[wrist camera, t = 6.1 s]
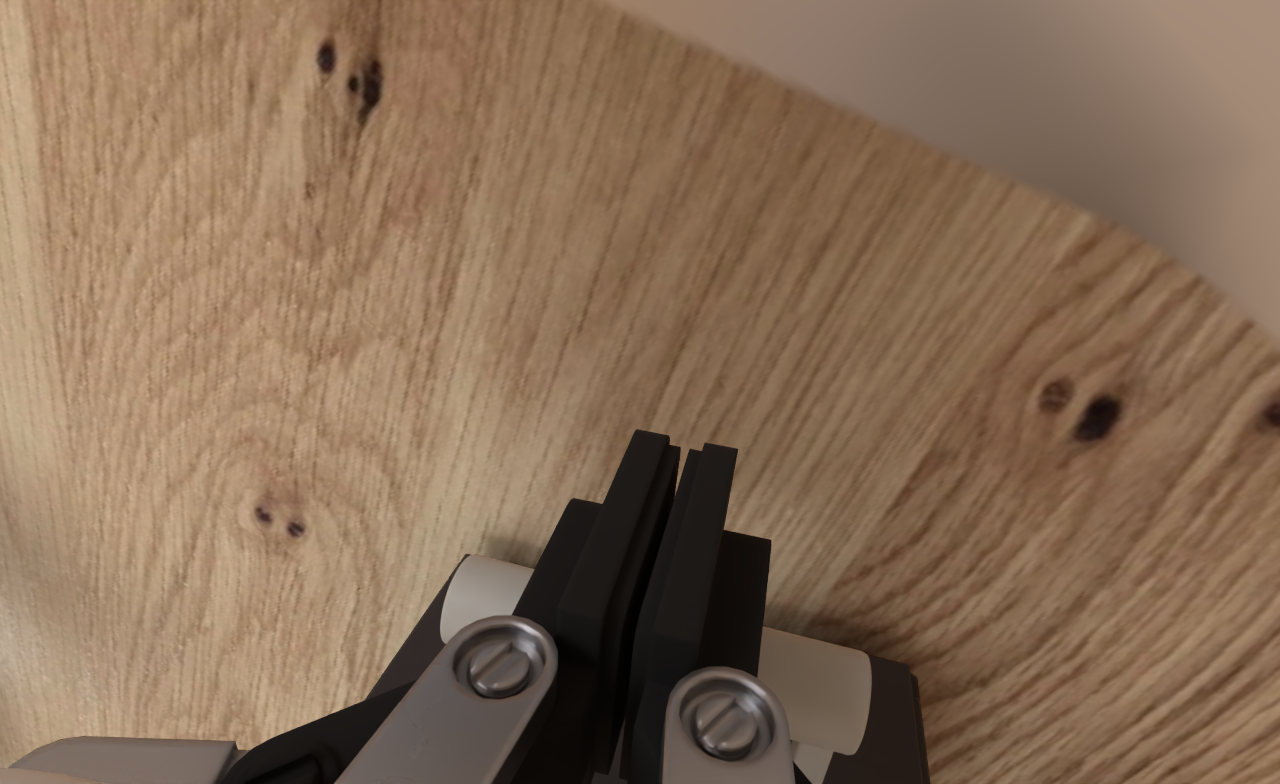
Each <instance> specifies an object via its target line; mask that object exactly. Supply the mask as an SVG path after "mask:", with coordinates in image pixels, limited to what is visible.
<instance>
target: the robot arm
mask: <svg viewBox="0 0 1280 784" xmlns="http://www.w3.org/2000/svg"><path fill="white" fill-rule="evenodd" d="M669 443H670V437H669V435H664V434H658V433H653V432H648V431H643V430H638V429H637V430H635V432H634V434H633V436H632V439H631V441H630V443H629V446H628V448H627V450H626V452H625V455H624V457H623V459H622V461H621V464H620V466H619V468H618V470H617V473H616V475H615V477H614V480H613V482H612V484H611V486H610V489H609V491H608V493H607V495H606V498H605V500H604V502H603V504H599V503H594V502H590V501H585V500H580V499H576V498H573V499H572V500H570V502H569V503H568V505H567V507H566V509H565V511H564V512H563V514H562V516H561V518H560V520H559V522H558V524H557V526H556V528H555V530H554V532H553V534H552V536H551V538H550V540H549V542H548V544H547V546H546V548H545V550H544V552H543V554H542V556H541V558H540V560H539V562H538V564H537V566H536V568H535V570H534V572H533V574H532V575H531V577H530V579H529V581H528V583H527V585H526V587H525V589H524V591H523V593H522V595H521V597H520V599H519V601H518V603H517V605H516V607H515V609H514V611H513V613H512V615H495V616H491V617H487V618H483V619H479V620H476V621H475V622H473V623H471V624H469V625H467V626H465V627H463V628H462V629H461V630H460V631H459V632H457V633H456V634H455V635H454V636H453V637H452V638H451V639H450V640H449V641H448V643H447V644H446V645H445V646H444V648H443V649H442V650H441V651H440V653H439V654H438V655H437V656H436V657H435V659H434V660H433V661H432V662H431V664H430V665H429V666H428V667H427V669H426V670H425V671H424V672H423V674H422V675H421V676H420V677H419V679H417V680H415V681H412V682H410V683H407V684H405V685H402V686H400V687H397V688H395V689H392V690H390V691H387V692H385V693H383V694H380V695H378V696H375V697H373V698H370V699H368V700H365V701H363V702H360V703H358V704H355V705H353V706H350V707H348V708H345V709H343V710H340V711H338V712H335V713H333V714H330V715H328V716H325V717H323V718H320V719H318V720H316V721H313V722H311V723H308V724H306V725H303V726H301V727H298V728H296V729H293V730H291V731H288V732H286V733H283V734H281V735H278V736H276V737H273V738H271V739H270V740H268V741H266V742H264V743H262V744H260V745H258V746H256V747H254V748H253V749H251V750H238V749H237V745H236V742H235V741H212V740H183V739H153V738H124V737H95V736H81V737H73V738H65V739H60V740H57V741H55V742H52V743H50V744H47V745H44V746H42V747H39V748H37V749H35V750H34V751H32V752H30V753H29V754H27V755H26V756H24V757H23V758H21V759H20V760H18V761H17V762H15V763H13V764H12V765H11V766H10V767H9V768H0V784H591V783H592V780H593V777H594V773H595V772H597V773H600V774H604V775H608V774H609V771H610V769H611V765H612V762H613V758H614V755H615V751H616V748H617V744H618V741H619V737H620V733H621V730H622V726H623V723H624V719H625V725H624V734H623V743H622V752H621V761H620V770H619V779H623V780H626V781H627V784H812V783H811V782H810V781H809V779H808V778H807V777H806V776H805V775H804V773H803V772H802V771H801V770H800V769H799V767H798V766H797V765H796V764H795V762H794V761H793V759H792V750H791V741H790V732H789V724H788V720H787V717H786V713H785V710H784V707H783V705H782V704H781V702H780V701H779V699H778V698H777V696H776V695H775V693H774V692H773V691H772V690H771V689H770V688H769V687H768V686H767V685H765V684H764V683H763V682H762V681H761V680H760V679H758V678H757V677H758V667H759V658H760V648H761V639H762V630H763V620H764V611H765V601H766V592H767V582H768V573H769V563H770V554H771V540H769V539H764V538H759V537H755V536H750V535H745V534H741V533H736V532H731V531H726V530H724V525H725V519H726V514H727V508H728V502H729V497H730V491H731V486H732V480H733V475H734V469H735V464H736V458H737V453H738V449H736V448H730V447H725V446H720V445H715V444H710V443H704V446H703V450H702V451H699V450H694V449H690V450H689V453H688V456H687V459H686V463H685V466H684V469H683V472H682V476H681V479H680V482H679V486H678V489H677V492H676V495H675V490H676V483H677V475H678V468H679V460H680V452H681V447H678V446H673V445H669ZM674 498H675V499H674ZM625 716H626V717H625Z"/></svg>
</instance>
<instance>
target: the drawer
mask: <svg viewBox="0 0 1280 784" xmlns="http://www.w3.org/2000/svg"><path fill="white" fill-rule="evenodd" d="M534 570H535V569H533V568H529V567H525V566H521V565H517V564H513V563H509V562H505V561H501V560H497V559H493V558H489V557H485V556H481V555H476V554H475V555H470V554H466V555H465V556H464V557H463V559H462V560H461V562H460V563H459V565H458V566H457V567H456V569H455V570H454V572H453V573H452V575H451V576H450V578H449V579H448V581H447V582H446V583H445V585H444V586H443V588H442V589H441V591H440V592H439V594H438V595H437V597H436V598H435V599H434V601H433V602H432V604H431V605H430V607H429V608H428V610H427V611H426V613H425V614H424V615H423V617H422V618H421V620H420V621H419V623H418V624H417V626H416V627H415V629H414V630H413V631H412V633H411V634H410V636H409V637H408V639H407V640H406V642H405V643H404V645H403V646H402V648H401V649H400V650H399V652H398V653H397V655H396V656H395V658H394V659H393V661H392V662H391V664H390V665H389V666H388V668H387V669H386V671H385V672H384V674H383V675H382V677H381V678H380V680H379V681H378V682H377V684H376V685H375V687H374V688H373V690H372V691H371V693H370V694H369V696H368V697H367V698H366V700H368V699H370V698H373V697H375V696H378V695H380V694H383V693H385V692H387V691H390V690H392V689H395V688H397V687H400V686H402V685H405V684H407V683H410V682H412V681H415V680H417V679H419V677H420V676H421V675H422V674H423V672H424V671H425V670H426V669H427V667H428V666H429V665H430V664H431V662H432V661H433V660H434V659H435V657H436V656H437V655H438V654H439V653H440V651H441V650H442V649H443V648H444V646H445V645H446V644H447V643H448V641H449V640H450V639H451V638H452V637H453V636H454V635H455V634H456V633H457V632H459V631H460V630H461V629H462V628H463V627H465V626H467V625H469V624H471V623H473V622H475V621H476V620H479V619H483V618H487V617H491V616H495V615H512V613H513V611H514V609H515V607H516V605H517V603H518V601H519V599H520V597H521V595H522V593H523V591H524V589H525V587H526V585H527V583H528V581H529V579H530V577H531V575H532V574H533V572H534ZM757 678H758V679H760V680H761V681H762V682H763V683H764V684H765V685H767V686H768V687H769V688H770V689H771V690H772V691H773V692H774V693H775V695H776V696H777V698H778V699H779V701H780V702H781V704H782V705H783V707H784V710H785V713H786V717H787V720H788V724H789V732H790V741H791V750H792V759H793V761H794V762H795V764H796V765H797V766H798V767H799V769H800V770H801V771H802V772H803V773H804V775H805V776H806V777H807V778H808V779H809V781H810V782H811V783H812V784H923V780H922V772H921V763H920V754H919V745H918V737H917V728H916V719H915V710H914V702H913V693H912V684H911V675H910V668H909V666H908V665H907V664H903V663H899V662H895V661H891V660H887V659H883V658H879V657H875V656H871V655H867V654H866V653H864V652H863V651H859V650H855V649H851V648H847V647H843V646H839V645H835V644H831V643H827V642H823V641H819V640H815V639H811V638H807V637H803V636H799V635H795V634H791V633H787V632H783V631H779V630H776V629H772V628H768V627H764V626H763V630H762V639H761V648H760V658H759V667H758V677H757ZM625 717H626V716H625ZM624 725H625V719H624V723H623V726H622V730H621V733H620V737H619V741H618V744H617V748H616V751H615V755H614V758H613V762H612V765H611V769H610V771H609V774H608V775H604V774H600V773H597V772H595V773H594V777H593V780H592V783H591V784H627V781H626V780H623V779H619V770H620V761H621V752H622V743H623V734H624Z"/></svg>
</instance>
